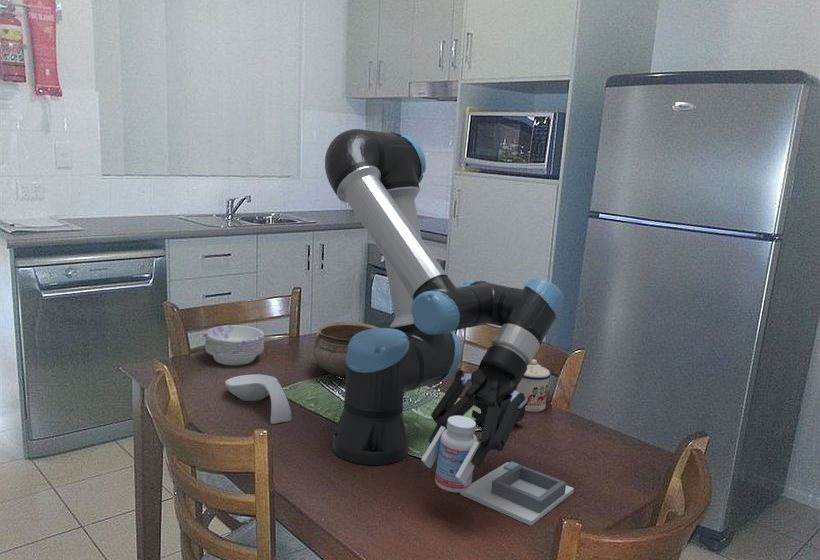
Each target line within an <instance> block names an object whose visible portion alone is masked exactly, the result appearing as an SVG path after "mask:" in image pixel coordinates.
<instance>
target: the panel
mask: <svg viewBox="0 0 820 560" xmlns="http://www.w3.org/2000/svg"><path fill="white" fill-rule="evenodd" d="M574 489H575V488H574V487H571V486H569V485H567V482H566V481H563V480H560V479H558V478H555V477H553V476H551V475H548V474H546V473H542V472H541V471H538V470H535V469H532V468H531V467H528V466H525V465H522V464H519V463H517V462H514V461H510V462H508V461H507V462H505V463H504V464H501V465H500V466H498V467H497V468H495V469H493V470H492V471H490V472H488V473H487V474H485V475H484V476H482V477H480V478H478V479H477V480H475V481H473V482H471V485H470V487H469V488H468V489H467V490H466V491H463V492H459V493H460V495H461V496H463V497H465V498H467V499H469V500H472V501H474V502H477V503H479V504H481V505H482V506H483V505H484V506H485V507H488V508H490V509H493V510H494V511H497V512H499V513H501V514H503V515H506V516H508V517H510V518H512V519H515V520H517V521H518V522H521V523H523V524H526V525H528V526H530V527H532V526H533V525H534V524H535V523H537V522H538V521H539V520H541V519H542V518H543V517H544V516H545V515H546V514H548V513H549V512H551V511H552V510H553V509H554V508H556V507H557V506H558V505H559V504H561V503H562V502H563V501H564V500H566V499H567V498H568V497H569V496H571V495H572V494H573V493H574V491H575V490H574Z"/></svg>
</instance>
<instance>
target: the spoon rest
mask: <svg viewBox="0 0 820 560" xmlns="http://www.w3.org/2000/svg"><path fill="white" fill-rule="evenodd" d="M224 384H225V386H226V389H227V390H228V391H229V392H230V393H231V394H232V395H234V396H235V397H237V398H238V399H240V400H241V401H245V402H257V401H262V400H263V399H265V398H266V397H268V396H269V398H270V406H271V407H270V409H271V410H270V422H269V423H270V424H271V425H275V424H281V423H287V422H290V421H291V420H292V419H293V418H292V410H291V407H290V404H289V400H288V397H287V395H286V394H285V391H284V389H283V388H282V386H281V384H280V382H279V380H278V378H277V377H275V376H271V375H267V374H258V373H256V374H244V375H237V376H233V377H231V378H228V379H226V380H225V382H224Z"/></svg>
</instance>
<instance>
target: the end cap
mask: <svg viewBox="0 0 820 560" xmlns="http://www.w3.org/2000/svg"><path fill="white" fill-rule="evenodd" d="M511 398H512V397H511ZM511 398H510V399H508V400H506V401H504V402H502V407H501V412H500V413H499V416H498V421H497V426H496V428H498V427H499V425H500V423H501V421H502V419H503V417H504V415H505V412H506V410H507V408H508V406H509V404H510V403H511ZM474 406H475V407H476V408H478V409H479V410H480V412H478V411H477V410H475V409H472V411H471V417H472V418H473V420H474V421H475V423H476V425H478V426H479V427H481V428H482V429H481V428H480V429H481V430H483V428H484V423H485V419H486V414H487V410H488V404H487V403H486V402H479V403H478V404H477V405H474ZM525 414H526V411H525V408H524V409H523V410H522V411H521V412H520V414H519V416H518V418H517V420H516V422H515V424H516V423H519V422H520V421H522V420H523V419H524V418H525ZM479 427H478V428H479Z"/></svg>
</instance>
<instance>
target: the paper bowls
mask: <svg viewBox="0 0 820 560" xmlns="http://www.w3.org/2000/svg"><path fill="white" fill-rule="evenodd" d="M204 343H205V352H206V353H207V354H209V355H211V356H212V357H213V359H214V361H215V362H217V363H219V364H221V365H224V366H244V365H247V364H249V363H252V362H254V360H255V359H256V357H257V356H259V355H260V354H262V353H263V352H264V349H265V348H264V347H265V333H264V331H262V330H261V329H259V328H256V327H254V326H253V327H252V326H249V325H238V324H233V325H231V324H230V325H221V326H219V325H218V326H216V327H215V326H214V327H211V328H209V329H208V330H206V333H205V342H204Z"/></svg>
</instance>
